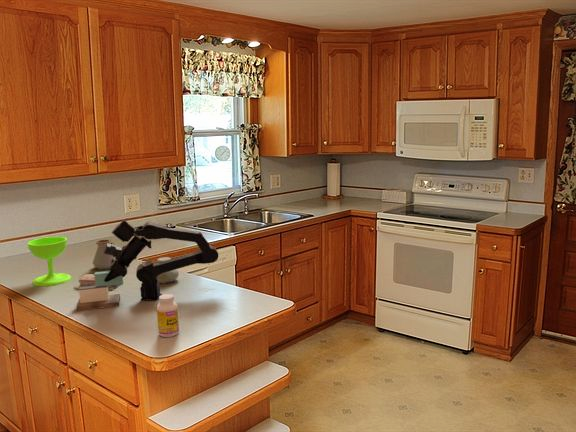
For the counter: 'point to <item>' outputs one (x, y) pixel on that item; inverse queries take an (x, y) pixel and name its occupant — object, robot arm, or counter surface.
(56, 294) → the counter surface
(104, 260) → the coffee pot
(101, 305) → the brown flat block
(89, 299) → the beige rectangular block
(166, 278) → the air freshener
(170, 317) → the supplement bottle
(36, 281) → the wineglass
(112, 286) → the packaged product
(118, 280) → the mint green pillar
